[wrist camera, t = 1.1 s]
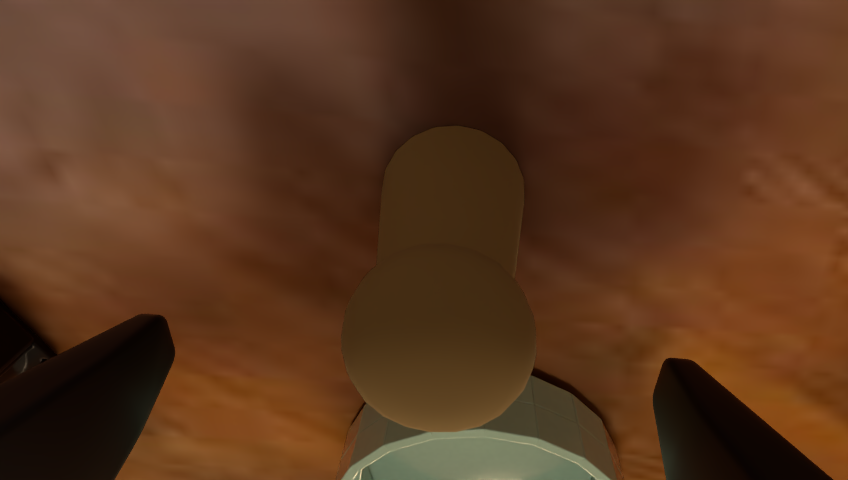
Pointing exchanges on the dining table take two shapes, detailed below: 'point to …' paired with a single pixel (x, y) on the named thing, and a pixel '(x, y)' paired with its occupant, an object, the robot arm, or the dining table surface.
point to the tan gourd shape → (444, 287)
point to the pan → (488, 444)
